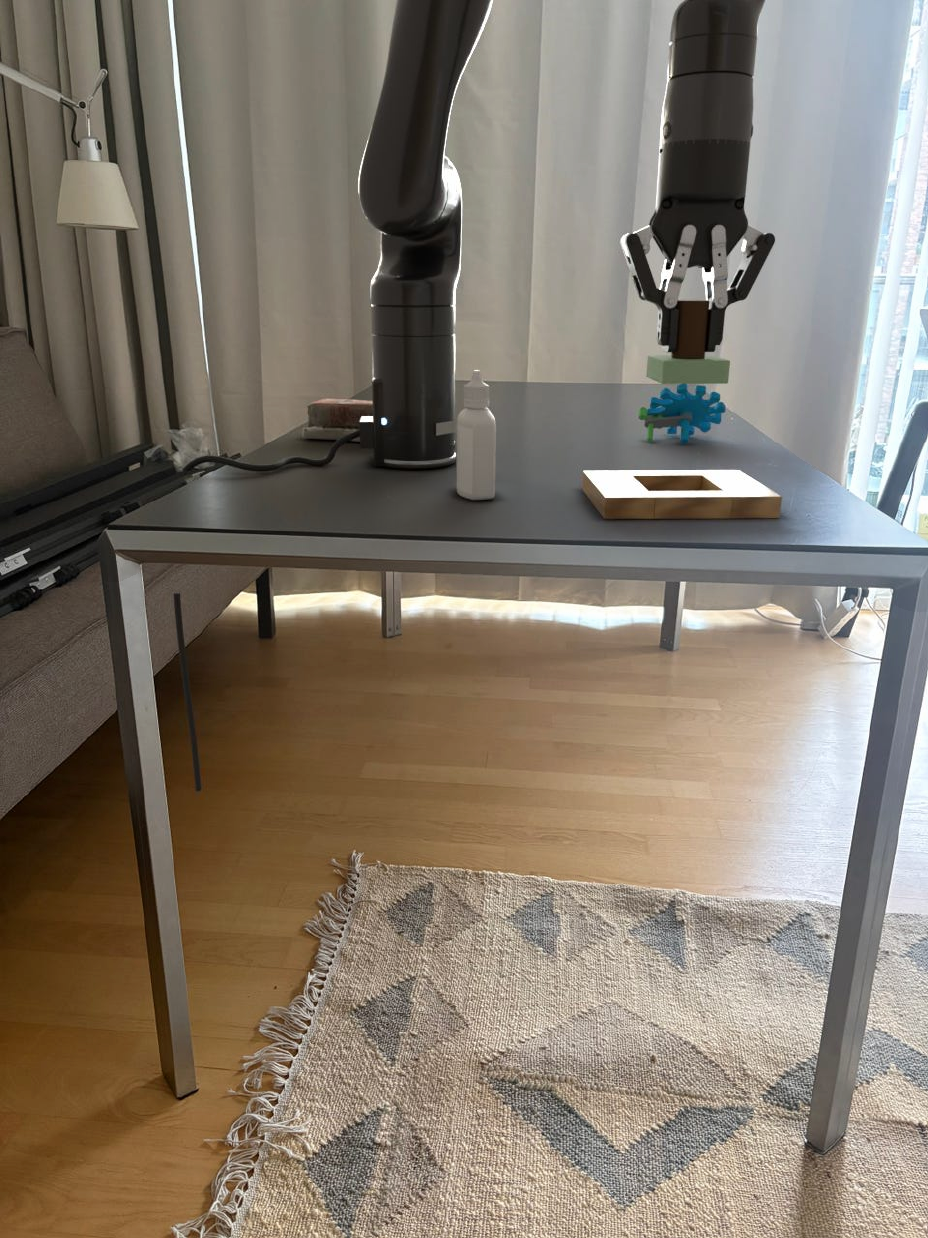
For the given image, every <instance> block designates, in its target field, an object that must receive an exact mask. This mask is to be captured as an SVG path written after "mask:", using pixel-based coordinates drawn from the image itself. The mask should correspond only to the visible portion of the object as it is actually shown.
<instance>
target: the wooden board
mask: <svg viewBox="0 0 928 1238" xmlns="http://www.w3.org/2000/svg"><path fill="white" fill-rule="evenodd" d="M581 488H582V489H581V490H582V491H583V493H584V494H585V495H586V496H587V498H588V500H589V501H590V502H591V504H592V505H593V506H594V508H595V509H596V510H597V512H599V514H600V515H601V516H602V518H603V519H604V520H691V519H693V520H699V519H704V520H705V519H780V516H781V508H782V500H783V496H782V495H780V494H778V493H777V492H775V491H774V490H772V489H771V488H769V487H767V486H766V485H764V484H762V482H759V481H757V480H756V479H754V478H753V477H751V476H749V475H748V474H746V473H745V472H743V471H742V470H740V469H696V470H695V469H693V470H689V469H686V470H685V469H683V470H678V469H676V470H672V469H671V470H667V469H666V470H661V469H659V470H582V487H581Z"/></svg>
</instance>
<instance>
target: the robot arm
mask: <svg viewBox="0 0 928 1238" xmlns="http://www.w3.org/2000/svg"><path fill="white" fill-rule="evenodd" d="M765 2H766V0H683V1H681V3H679V5H677V7H676V9H675V10H674V12H673V16H672V20H671V25H670V34H669V46H668V62H667V77H666V80H667V82H666V87H665V93H664V94H665V95H664V100H663V105H662V110H661V122H660V139H659V151H658V153H659V154H658V166H657V168H658V169H657V182H656V199H655V209H654V213H653V214H652V216H651V217H650V219H649V222H648V225H647V226H645V227H643V228H640V229H639V230H637V231H634V232H630V233H629V232H628V233H626V234H623V235H622V237H621V238H620V240H619V244H620V246H621V249H622V252H623V255H624V258H625V261H626V264H627V266H628V270H629V272H630V275H631V278H632V281H633V284H634V287H635V289H636V290H635V291H636V292H637V295H638V298H639V299H640V300H641V301H646V302H649V303H651V304H653V305H654V306H655V307H657V310H658V313H657V328H656V342H657V344H658V346H661V347H662V348H661V349H662V352H665V353H671V352H675V351H676V343H677V330H678V317H679V310H678V309H676V304H677V301H678V300H679V297H680V292H681V288H682V284H683V282H684V281H685V278H686V275H687V271H688V269H690V268H693V267H696V268H697V269H701V272H702V281H703V283H704V289H705V300H709V313H708V324H707V336H706V347H705V353H715V352H716V346H720V345H721V344H722V341H724V340H723V337H724V328H725V316H726V310H727V308H728V307H729V306H730V305H732V304H734V303H737V302H739V301H741V302H742V301H745V300H746V299H747V298H748V296H749V295H750V292H751V290H752V288H753V286H754V285H755V283H756V280H757V278H758V276H759V275H760V272H761V270H762V268H763V267H764V265H765V263H766V261H767V259H768V257H769V255H770V253H771V251H772V249H773V248H774V245H775V243H776V236H775V234H773V233H771V232H766V233H764V232H762V231H759V230H758V229H756V228H754V227H752V226H750V225H749V220H748V217H747V215H746V211H745V202H746V193H747V183H748V173H749V163H750V153H751V141H752V138H753V134H754V125H753V120H754V76H755V66H756V65H755V64H756V55H757V44H758V30H759V29H758V28H759V21H760V17H761V13H762V10H763V8H764V5H765ZM493 3H494V0H396V4H395V10H394V15H393V21H392V26H391V33H390V40H389V46H388V47H389V48H388V53H387V59H386V66H385V72H384V77H383V81H382V85H381V89H380V94H379V97H378V102H377V106H376V109H375V113H374V116H373V120H372V124H371V127H370V131H369V134H368V138H367V142H366V145H365V149H364V152H363V156H362V159H361V163H360V168H359V174H358V180H357V181H358V183H357V193H358V198H359V204H360V207H361V209H362V213H363V214H364V216H365V218H366V219H367V221H368V222H369V223H370V225H371V226H372V227H373V228H374V229H376V230H377V231H378V232H380V259H379V263H378V267H377V270H376V272H375V273H374V276H373V277H372V279H371V281H370V305H371V306H370V314H371V315H370V321H371V353H372V356H371V357H372V380H371V397H372V398H371V401H372V404H373V416H362V417H361V419H360V422H359V427H360V430H357V431H355V432H353V433H350V434H348V435H346V436H344V437H342V438H340V439H339V440H337V441H334V443H333V444H332V445H331V446H330V449H329V452H328V454H327V455H326V456H325V457H324V458H320V459H314V458H310V457H305V456H298V455H297V456H290V457H289V456H288V457H285V458H283V459H280V460H278V461H276V462H274V463H269V464H253V463H247V462H242V461H238V460H234V459H232V458H228V457H224V456H221V455H215V454H214V455H210V454H209V455H201V456H199V457H197V458H195V459H192V461H190V462H188V463H186V465H185V466H184V467H183V468H182V470H181V471H182V472H190V471H192V470H193V469H194V468H196V467H197V466H199V465H201V464H207V463H216V464H221V465H225V466H229V467H232V468H236V469H240V470H243V471H249V472H257V473H259V472H262V473H264V472H273V471H276V470H278V469H280V468H281V469H282V468H283V467H285V466H287V465H291V464H305V465H308V466H312V467H313V466H315V467H323V466H326V465H328V464H330V463H331V462H332V461H333V460H334V459H335V456H336V454H337V451H338V449H339V448H340V447H342V446H343V445H344V444H346V443H349V442H351V441H350V440H353V439H355V438H357V437H360V442H359V448H360V449H373V466H374V467H387V468H392V469H404V470H405V469H407V470H408V469H409V470H422V469H423V470H424V469H435V468H442V467H446V466H450V465H452V464H454V463H456V462H457V452H456V292H457V291H456V289H457V285H458V282H459V278H460V274H461V260H462V231H463V229H462V227H463V224H462V223H463V198H462V197H463V195H462V186H461V181H460V177H459V174H458V171H457V169H456V167H455V166H454V164H453V163H452V161H450V159H449V158H448V156H446V155H445V150H446V142H447V136H448V130H449V129H448V128H449V123H450V117H451V111H452V107H453V102H454V99H455V95H456V91H457V89H458V85H459V83H460V80H461V77H462V75H463V73H464V71H465V69H466V67H467V64H468V62H469V60H470V58H471V56H472V54H473V51H474V50H475V48H476V46H477V43H478V41H479V40H480V38H481V35H482V32H483V31H484V28H485V25H486V23H487V21H488V19H489V16H490V12H491V9H492V5H493ZM651 239H653V241H654V242H655V244H656V246H657V247H658V249H659V250H660V252H661V254H662V256H663V257H664V264H663V268H662V272H661V283H660V286H659V288H658V287H657V285H656V282H655V279H654V276H653V273H652V271H651V267H650V264H649V261H648V259H647V256H646V255H648V254H649V253H650V251H651ZM741 240H742V246H741V252H742V254H743V255H744V256H743V258H742V260H741V262H740V263H739V266H738V268H737V270H736V272H735V273H734V275H733V277H732V280H731V281H730V283H729V285H728V283H727V281H728V278H729V272H728V271H729V269H728V257H729V256H730V254H731V253H732V251H733V250H734V249H735V248H736V246H737V245H738V243H739V242H740V241H741ZM173 607H174V617H175V628H176V630H175V631H176V638H177V646H178V654H179V662H180V670H181V677H182V686H183V693H184V700H185V708H186V716H187V723H188V731H189V740H190V747H191V757H192V766H193V776H194V778H193V779H194V787H195V788H194V789H195V792H201V791H202V789H203V788H202V779H201V767H200V766H201V765H200V757H199V756H200V755H199V748H198V747H199V746H198V739H197V732H196V731H197V730H196V723H195V722H196V721H195V714H194V706H193V700H192V691H191V685H190V684H191V683H190V676H189V669H188V661H187V653H186V644H185V637H184V626H183V615H182V614H183V613H182V602H181V592H179V593H173Z"/></svg>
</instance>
